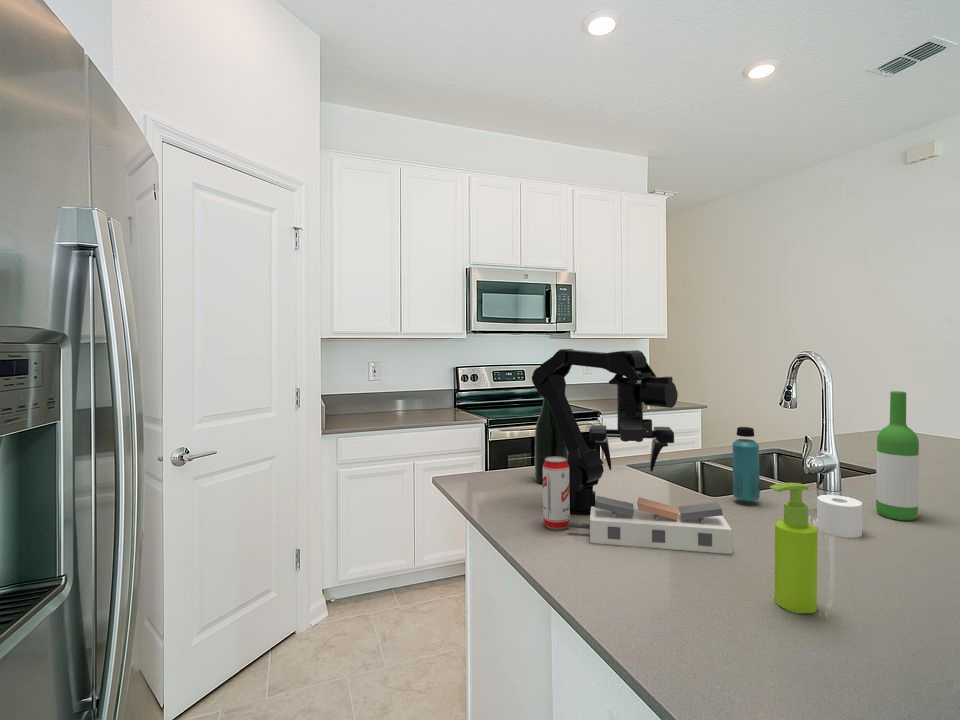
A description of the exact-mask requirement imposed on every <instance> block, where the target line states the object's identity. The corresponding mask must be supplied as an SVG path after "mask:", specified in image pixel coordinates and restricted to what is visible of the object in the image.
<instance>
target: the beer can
mask: <svg viewBox="0 0 960 720" xmlns="http://www.w3.org/2000/svg"><path fill="white" fill-rule="evenodd" d="M542 515H543V516H542V517H543V519H542V520H543V521H542V522H543V524H544V525H545V526H546V527H547V528H548V530H549V529H550V530H555V531H560V530H562V531H563V530H565V529H567V528H569V527H568V522H571V513H570V492H569V465H568V463H567V459H566V458H564V457H557V456H553V457H547V458H545V462H544V464H543V484H542Z"/></svg>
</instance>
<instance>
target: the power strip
mask: <svg viewBox="0 0 960 720" xmlns="http://www.w3.org/2000/svg"><path fill="white" fill-rule="evenodd" d="M678 513H679V511H678ZM589 515H590V517H589V518H590V519H589V522H577V521H576V522H573V521H570V522H568V527H567V528H570V529H585V530H586V529H587V530H589V543H590V544H598V545H612V546H624V547H635V548H636V547H637V548H638V547H639V548H646V549H647V548H649V549H663V550H675V551H689V552H697V553H698V552H701V553H710V554H711V553H713V554H714V553H715V554H726V555H732V552H733V548H732V546H733V544H732V543H733V542H732V540H733V539H732V536H733V535H732V534H733V533H732V532H733V531H732V528H731V526H730V525H729V523H728V522H727V520H726V519H725V518H724V515H723V516H714V517H705V518H696V519H688V520H682V518H681V515H680V513H679V515H678V519H677V520H675V519H671V518H667V517H663V516H660V515H656V514H652V513H649V512H645V511H641V510H638V508H634V513H633V516H628V515H624V514H620V513H615V512H611V511H607V510H602V509H598V508H595V507H591V514H589Z"/></svg>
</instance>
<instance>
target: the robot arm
mask: <svg viewBox="0 0 960 720" xmlns="http://www.w3.org/2000/svg"><path fill="white" fill-rule="evenodd" d="M573 366H579V367H587V368H588V367H590V368H596V369H603V370H606V371H608V372H609V373H611V374H614V376H613V377H612V378H611V379H610V380H609V381H608V384H609V385H616V389H617V390H616V391H617V392H616V393H617V394H616V395H617V396H616V397H617V399H616V400H617V401H616V402H617V403H616V404H617V405H616V406H617V407H616V408H617V412H616V413H617V429H607V425H598V424H597V425H596V424H595V425H594V424H593V425H591V426H590V427H589V429H588V436H589V437H588V441H591V442H594V444H595V445H599V447H600V448H601V450H602V452H603V454H604V457H605V460H606V464H607V467H608V469H609V470H610V471H611V470H612V458H611V453H610V445H609V438H619V439H620V440H621V442H623V443H624V442H625V443H626V442H627V443H628V442H636V443H642V442H643V441H644V439H652V440H651V441H652V442H651V449H650V451H651V452H650V457H649V458H650V460H649V471H650V472H653V470H654V467H655V465H656V463H657V462H656V461H657V459H658V457H659V454H660V453H661V450H663V448H664V447H668V446H669V444H675V433H674V431H673V429H672V428H671V427H670V426H653V421H652V419H651V418H645V419H644V406H647V407H655V408H657V407H658V408H665V409H667V408H668V409H672V408H674V407H675V406H676V404H677V401H678V395H679V394H678V393H679V392H678V390H677V386H676V384H675V383H674V382H673V380H674V379H673V377H672V376H657V375H656V373H655V372H654V370H653V369H652V368H651V367H650V365H649V363H648V362H647V358H646V355H645V354H644V353H643V352H642V351H641V350H637V349H636V350H635V349H634V350H620V351H612V352H611V351H610V352H601V351H588V350H576V349H573V348H561V349H559V350H557V351H556V352H555V353H554V354H553V355H552V356H551V357H550V358H549V359H547V360H545V361H544V362H542V363H541V364H540V366H538V367H536V368H535V369H534V371H533V372H532V376H531V381H532V384H533V385H534V387H535V390H536V391H537V392H538V394H540V396H541V397H543V399H544V398H545V399H546V400H547V401H548V403H549V406H550V408H551V411H552V413H553V415H554V418H555V420H556V423H557V425H558V428H559V430H560V433H561V435H562V437H563V440H564V442H565V445H566V447H567V450H568V462H567V463H568V465H569V492H570V514H578V515H590V514H591V507H595V505H596V497H597V494H596V491H595V490H594V486H597V485H598V484H599V481H600V479H601V478H602V477H603V473H604V466H603V465H604V464H605V463H604V461H603V460H602V458H601V456H600V452H599V450H598V449H597V448H594V449H592V448H590V447H589V446H588V445H587V443H586V441H585V439H584V436H583V434H582V431H581V429H580V427H579V424H578V422H577V419H576V418H575V415H574V411H572V408H571V406H570V402H569V401H568V399H567V396H566V388H567V387H566V386H567V382H566V379H565V378H566V376H568V374H569V373H570V372H571V368H572V367H573Z"/></svg>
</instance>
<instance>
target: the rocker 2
mask: <svg viewBox="0 0 960 720" xmlns="http://www.w3.org/2000/svg"><path fill="white" fill-rule="evenodd" d="M636 504H637V509H638V510H641V511H645V512H649V513H652V514H656V515H660V516H663V517H667V518H671V519H675V520H677V519H678V515H679V513H678V512H679V510H678V509H677V506H674V505H669V504H665V503H661V502H660V501H659V502H658V501H654V500H650V499H646V498H643V497H639V496H638V497H637V503H636Z"/></svg>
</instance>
